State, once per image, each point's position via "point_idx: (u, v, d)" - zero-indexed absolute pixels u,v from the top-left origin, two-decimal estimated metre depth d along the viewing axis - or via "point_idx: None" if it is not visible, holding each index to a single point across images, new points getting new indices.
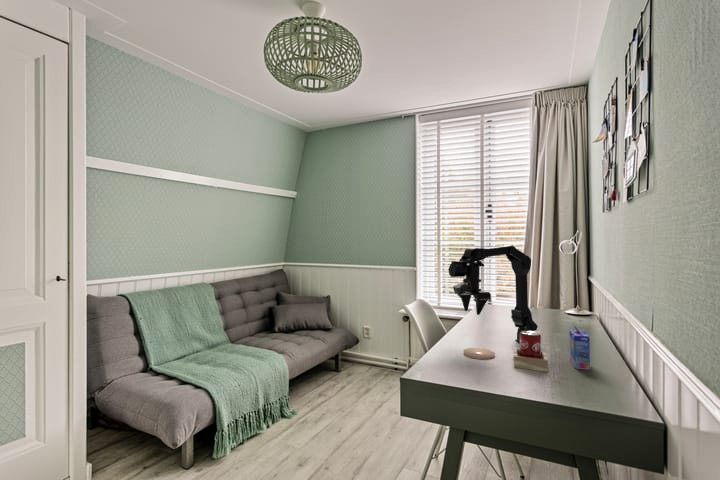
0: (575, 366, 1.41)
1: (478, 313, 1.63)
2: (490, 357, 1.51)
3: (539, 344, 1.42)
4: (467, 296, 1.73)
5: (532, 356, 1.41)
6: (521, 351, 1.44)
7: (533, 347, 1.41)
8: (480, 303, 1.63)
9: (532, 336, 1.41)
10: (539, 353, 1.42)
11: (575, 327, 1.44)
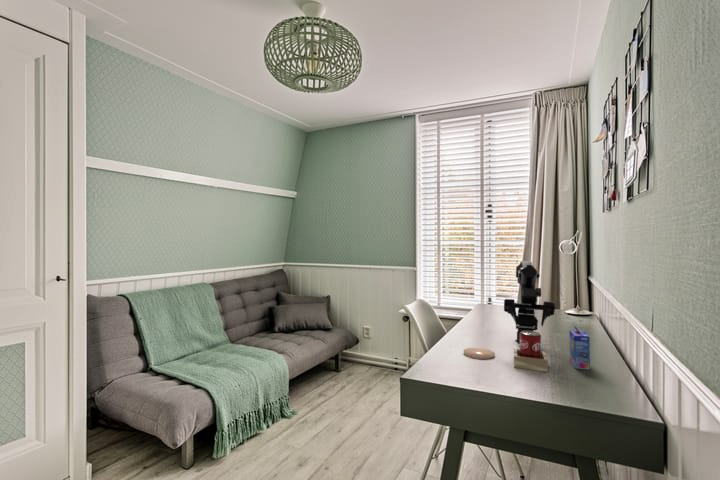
0: (575, 366, 1.41)
1: None
2: (490, 357, 1.51)
3: (539, 344, 1.42)
4: None
5: (532, 356, 1.41)
6: (520, 351, 1.44)
7: (533, 347, 1.41)
8: None
9: (532, 336, 1.41)
10: (539, 353, 1.42)
11: (575, 327, 1.44)
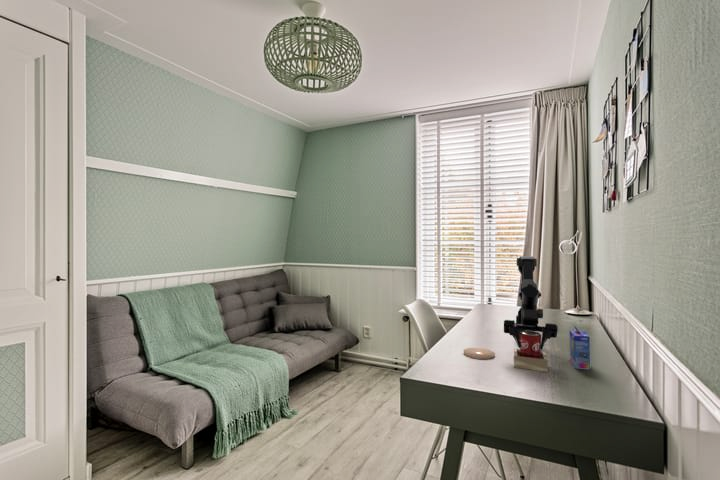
0: (575, 366, 1.41)
1: (542, 347, 1.42)
2: (490, 357, 1.51)
3: (539, 344, 1.42)
4: None
5: (532, 356, 1.41)
6: (521, 351, 1.44)
7: (533, 347, 1.41)
8: None
9: (532, 336, 1.41)
10: (539, 353, 1.42)
11: (575, 327, 1.44)
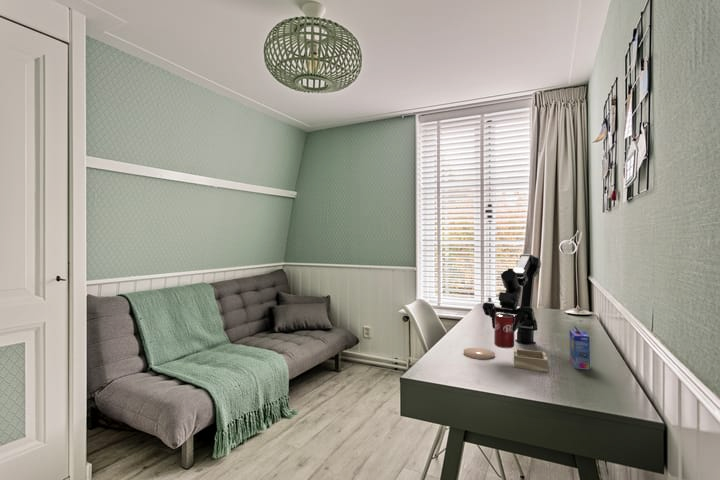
0: (575, 366, 1.41)
1: (515, 329, 1.46)
2: (490, 357, 1.51)
3: (511, 326, 1.46)
4: None
5: (503, 337, 1.46)
6: (494, 332, 1.50)
7: (504, 328, 1.46)
8: (519, 320, 1.48)
9: (503, 318, 1.46)
10: (511, 335, 1.46)
11: (575, 327, 1.44)
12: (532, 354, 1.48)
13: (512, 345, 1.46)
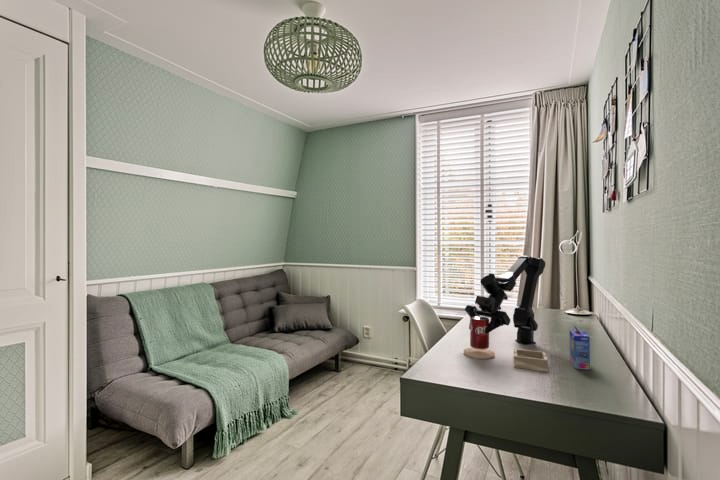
0: (575, 366, 1.41)
1: (487, 331, 1.53)
2: (490, 357, 1.51)
3: (483, 328, 1.53)
4: None
5: (475, 338, 1.54)
6: (470, 333, 1.58)
7: (476, 330, 1.54)
8: (493, 324, 1.54)
9: (475, 320, 1.54)
10: (483, 337, 1.53)
11: (575, 327, 1.44)
12: (532, 354, 1.48)
13: (484, 347, 1.53)
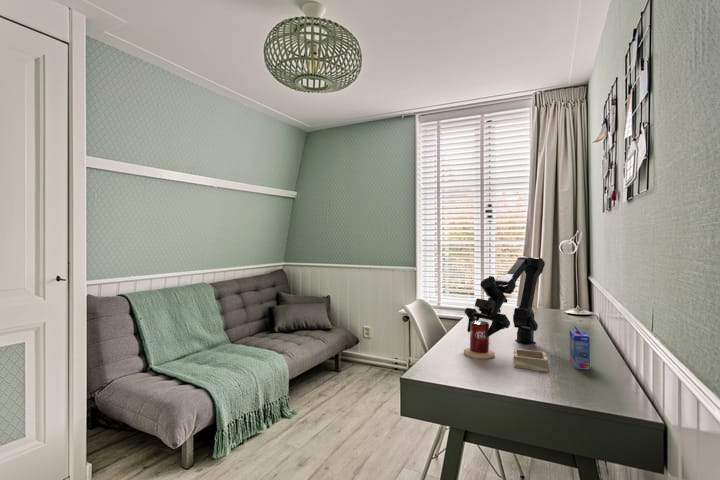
0: (575, 366, 1.41)
1: (488, 335, 1.52)
2: (490, 357, 1.51)
3: (482, 333, 1.53)
4: (475, 320, 1.63)
5: (475, 342, 1.54)
6: None
7: (475, 334, 1.54)
8: (495, 327, 1.53)
9: (475, 324, 1.54)
10: (483, 341, 1.53)
11: (575, 327, 1.44)
12: (532, 354, 1.48)
13: (484, 351, 1.53)
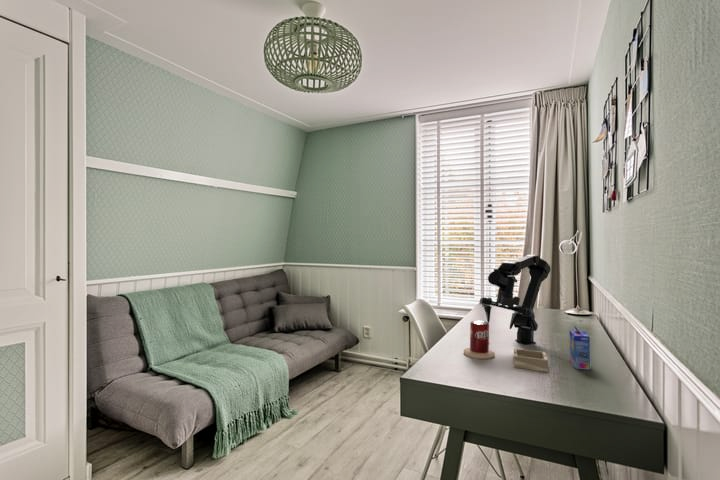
0: (575, 366, 1.41)
1: None
2: (490, 357, 1.51)
3: (482, 333, 1.53)
4: None
5: (475, 342, 1.54)
6: None
7: (475, 334, 1.54)
8: None
9: (475, 324, 1.54)
10: (483, 341, 1.53)
11: (575, 327, 1.44)
12: (532, 354, 1.48)
13: (484, 351, 1.53)
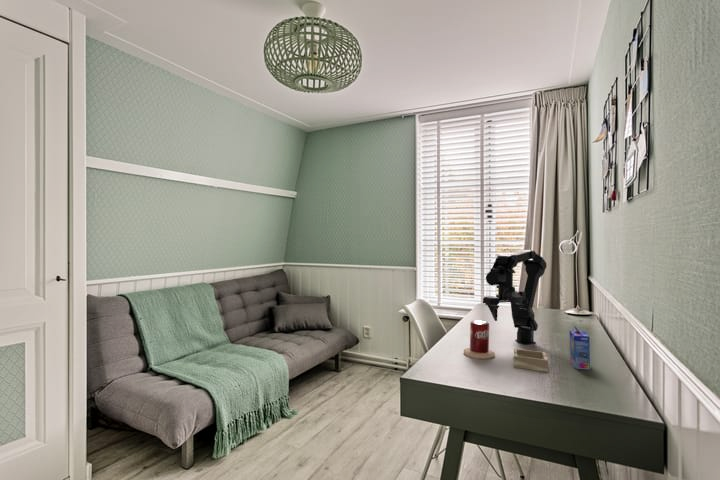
0: (575, 366, 1.41)
1: None
2: (490, 357, 1.51)
3: (482, 333, 1.53)
4: None
5: (475, 342, 1.54)
6: None
7: (475, 334, 1.54)
8: None
9: (475, 324, 1.54)
10: (483, 341, 1.53)
11: (575, 327, 1.44)
12: (532, 354, 1.48)
13: (484, 351, 1.53)
